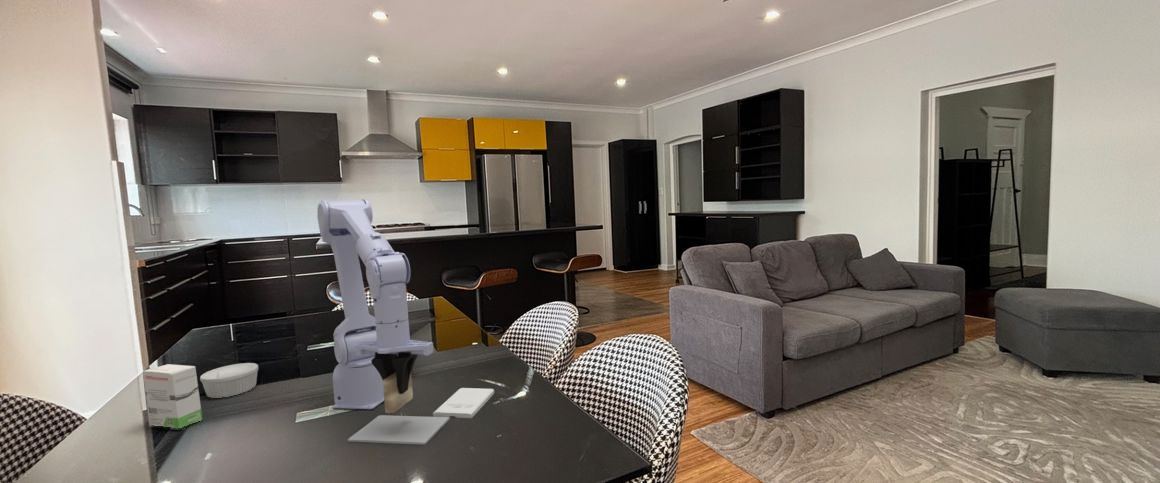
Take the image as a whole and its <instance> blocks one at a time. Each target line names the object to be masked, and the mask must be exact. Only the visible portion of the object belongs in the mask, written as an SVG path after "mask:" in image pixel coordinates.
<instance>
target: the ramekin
mask: <svg viewBox="0 0 1160 483" xmlns="http://www.w3.org/2000/svg"><path fill="white" fill-rule="evenodd" d="M258 371H259V365H258V364H257V363H254V362H245V363H244V362H243V363H235V364H230V365H224V366H221V367H217V368H214V369H212V370H211V369H210V370H208V371H206V372H204V373H203V374H201V375H200V378H199V380H200V382H201V383H202V386H203V389H204V392H205V394H206V396H207V397H208V398H210V397H211V398H210V399H212V398H222V397H229V396H233V395H237V394H240V393H243V392H246V391H248V390H250V391H252V390H253V389H254V388H255V387H256V385H257V380H258V378H257V377H258ZM252 388H253V389H252ZM251 389H252V390H251ZM246 393H247V392H246ZM237 396H238V395H237ZM233 397H234V396H233ZM229 398H230V397H229Z"/></svg>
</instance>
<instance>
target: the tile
mask: <svg viewBox="0 0 1160 483" xmlns="http://www.w3.org/2000/svg"><path fill="white" fill-rule="evenodd" d="M412 377H413V376H412V373H411V374H410V379H409V384H408V390H407V391H406V392H404V393H403V394H399V391H398V387H397V377H396V372H395V373H394V374H392V375H391V376H389V377H387V378H386V379H384V380H383V390H384V401H383V402H384V410H385V411H384V412H385V414H394V413H395V412H397V411H398V410H400V409H401V408H402V407H403V406H404V405H406V404H407V403H408V402H409V401H411V400H412V399H414V392H413V380H412Z"/></svg>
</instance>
